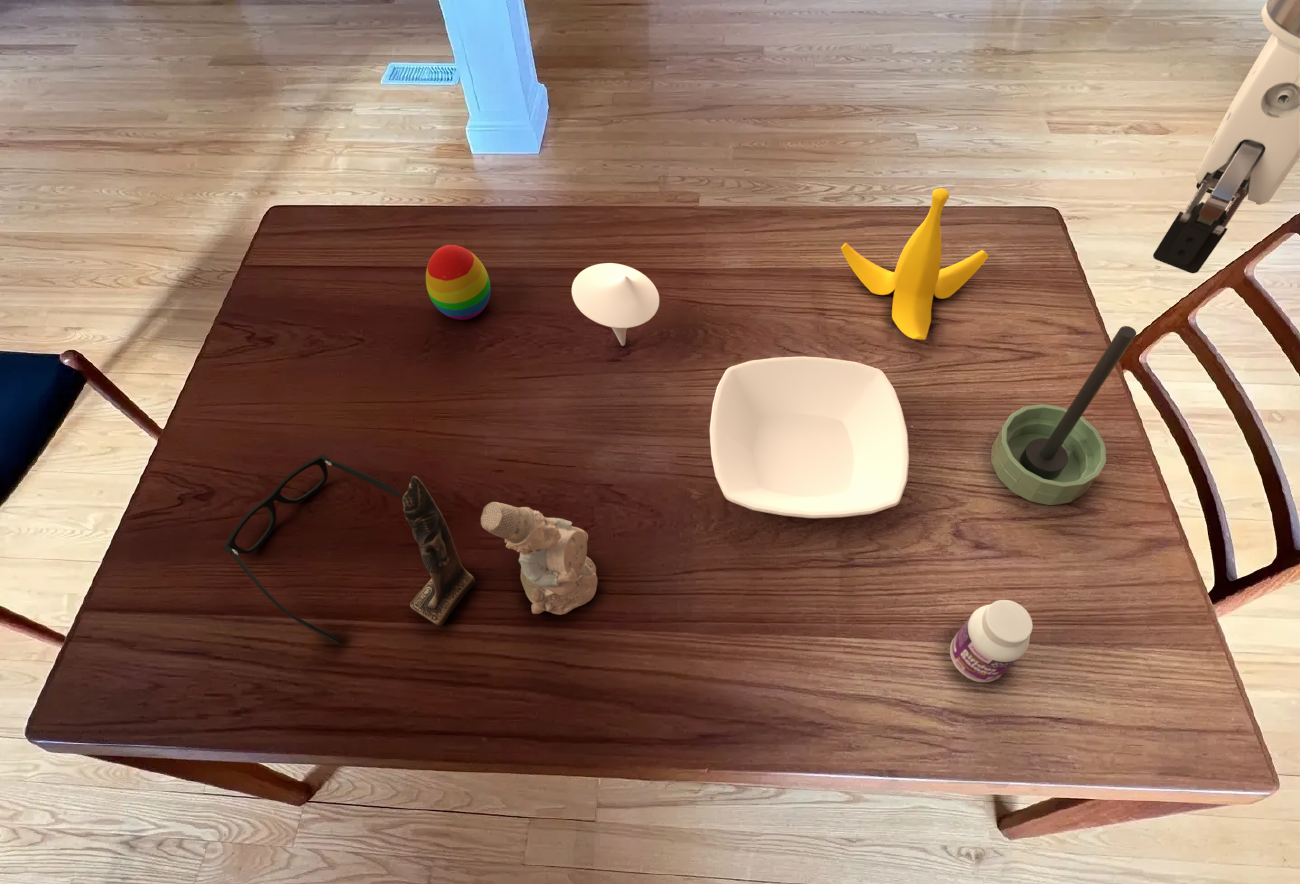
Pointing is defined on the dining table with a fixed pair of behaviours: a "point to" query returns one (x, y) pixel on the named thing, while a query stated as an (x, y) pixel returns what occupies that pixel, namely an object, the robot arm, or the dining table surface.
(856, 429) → the bowl
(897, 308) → the banana peel
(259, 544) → the glasses
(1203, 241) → the robot arm
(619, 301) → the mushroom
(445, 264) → the decorative egg
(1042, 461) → the disc-footed rod
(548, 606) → the figurine
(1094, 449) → the green round dish
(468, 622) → the dining table surface
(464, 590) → the statue
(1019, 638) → the pill bottle
